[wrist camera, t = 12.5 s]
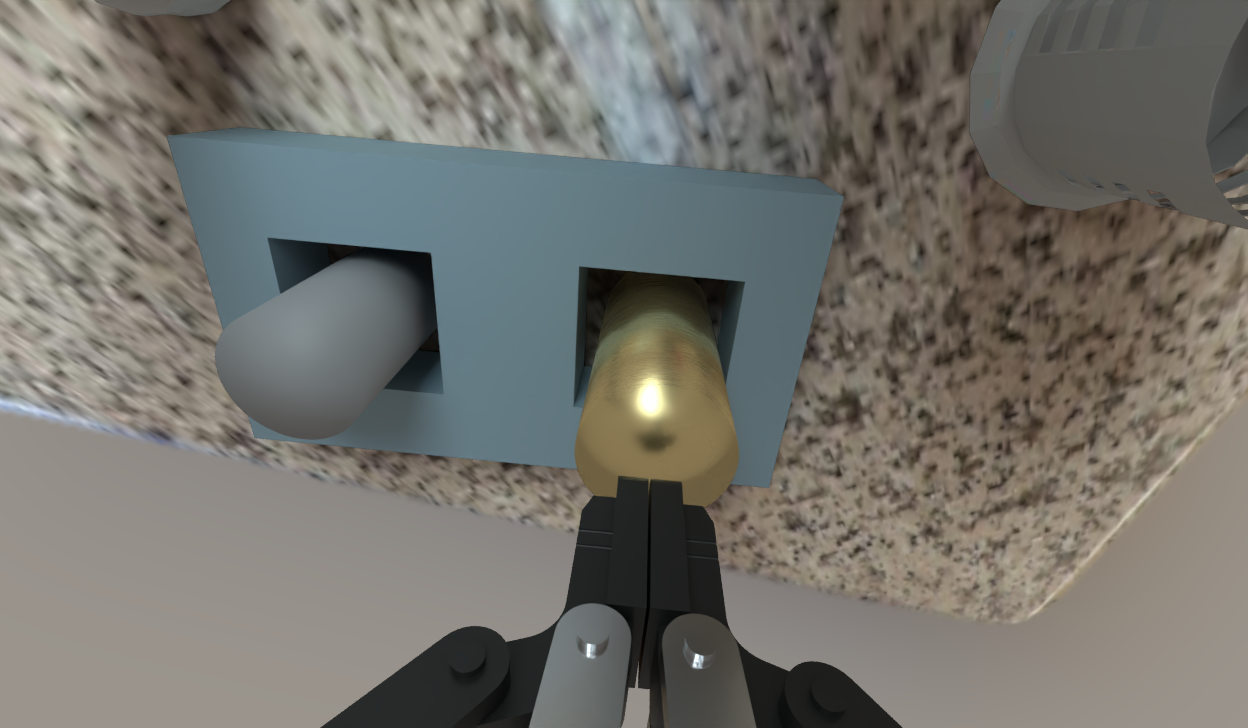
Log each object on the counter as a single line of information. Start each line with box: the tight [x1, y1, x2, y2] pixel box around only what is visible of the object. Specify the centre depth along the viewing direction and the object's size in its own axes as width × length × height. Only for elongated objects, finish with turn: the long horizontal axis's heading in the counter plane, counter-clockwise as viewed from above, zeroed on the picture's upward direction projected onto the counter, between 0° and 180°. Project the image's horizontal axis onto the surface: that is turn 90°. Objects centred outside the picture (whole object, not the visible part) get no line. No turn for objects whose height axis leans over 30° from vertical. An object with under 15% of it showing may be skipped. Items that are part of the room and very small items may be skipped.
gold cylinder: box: [574, 271, 739, 508], centre depth 19 cm, size 4×4×10 cm
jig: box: [167, 127, 844, 488], centre depth 20 cm, size 12×22×8 cm, turn 86°
